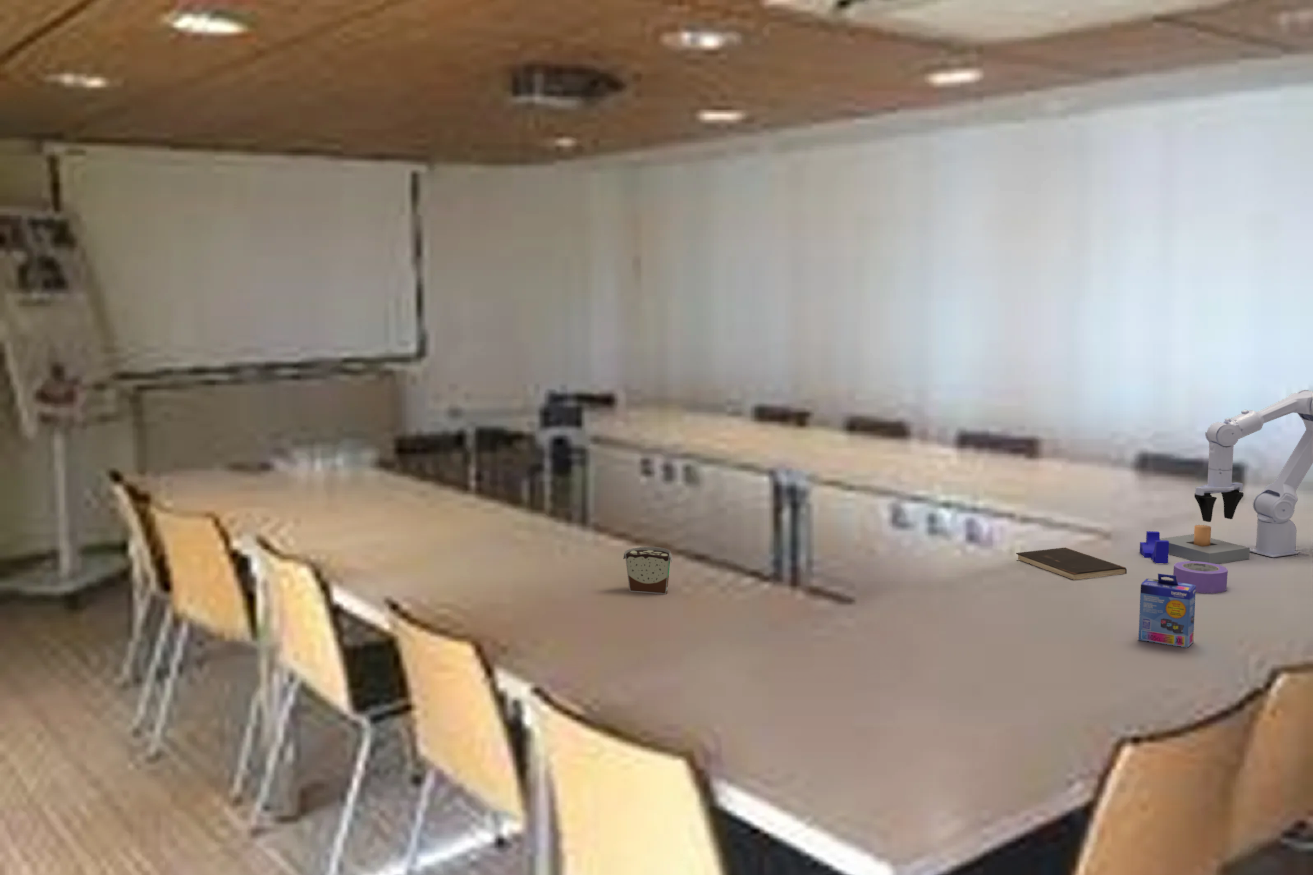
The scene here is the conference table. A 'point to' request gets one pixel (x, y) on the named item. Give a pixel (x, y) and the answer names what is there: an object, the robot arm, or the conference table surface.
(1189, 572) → the tape roll
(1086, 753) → the conference table surface
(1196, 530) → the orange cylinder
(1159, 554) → the cable clip
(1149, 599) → the ink cartridge box
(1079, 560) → the hardcover book
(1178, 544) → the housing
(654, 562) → the food container
